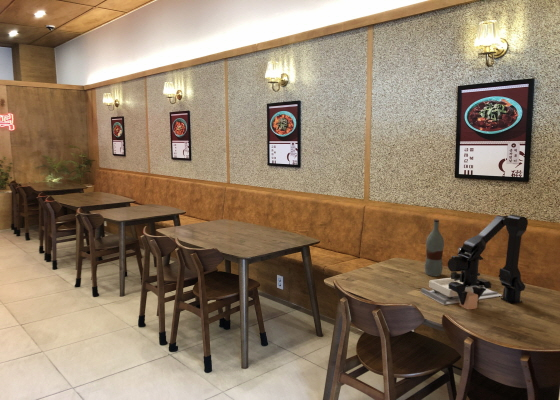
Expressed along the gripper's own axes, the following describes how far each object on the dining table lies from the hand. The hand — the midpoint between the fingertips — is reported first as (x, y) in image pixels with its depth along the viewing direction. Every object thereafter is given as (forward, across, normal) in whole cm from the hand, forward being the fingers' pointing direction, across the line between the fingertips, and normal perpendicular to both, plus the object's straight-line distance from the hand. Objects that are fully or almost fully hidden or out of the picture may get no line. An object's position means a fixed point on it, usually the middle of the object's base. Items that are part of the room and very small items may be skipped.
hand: (468, 303), depth 194 cm
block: (+1, 0, 0) cm, 1 cm away
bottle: (+2, -16, -43) cm, 46 cm away
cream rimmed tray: (0, -2, -13) cm, 13 cm away
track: (+1, -8, -13) cm, 15 cm away
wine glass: (+1, -30, -35) cm, 46 cm away
